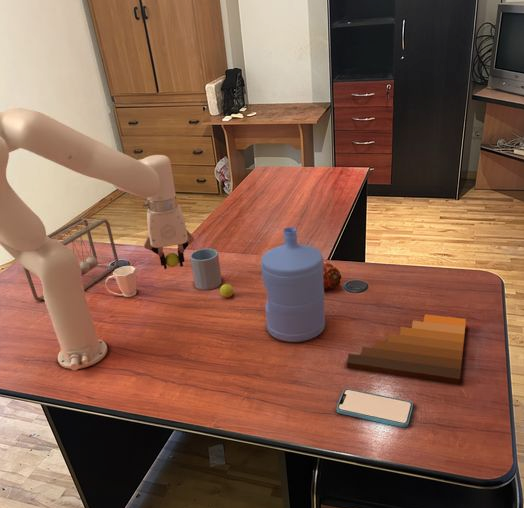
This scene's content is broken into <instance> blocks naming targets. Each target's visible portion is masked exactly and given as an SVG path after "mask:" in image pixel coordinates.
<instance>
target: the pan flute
mask: <svg viewBox="0 0 524 508" xmlns="http://www.w3.org/2000/svg"><path fill="white" fill-rule="evenodd" d="M466 323H467V318H461V317H453V316H443V315H436V314H435V315H434V314H424V317H423V321H421V320H412V325H411V327H407V326H400V329H399V334H398V333H391V332H389V333H387V340H382V339H381V340H380V339H375V341H374V346H373V347H369V346H361V351H360V354H355V353H348V356H347V360H346V365H347V369H350V370H351V369H352V370H358V371H359V370H360V371H366V372H372V373H373V372H374V373H379V374H385V375H391V376H392V375H393V376H399V377H408V378H413V379H420V380H425V381H426V380H427V381H434V382H441V383H446V384H454V385H460V382H461V381H460V380H461V375H462V364H463V363H462V362H463V353H464V344H465V333H466Z"/></svg>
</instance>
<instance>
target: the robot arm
mask: <svg viewBox="0 0 524 508" xmlns="http://www.w3.org/2000/svg"><path fill="white" fill-rule="evenodd" d="M19 149H22V150H26V151H28V152H30V153H33V154H35V155H37V156H39V157H41V158H43V159H46V160H48V161H50V162H53V163H55V164H57V165H60V166H62V167H63V168H66V169H68V170H71V171H73V172H75V173H77V174H80V175H83V176H86V177H89V178H93V179H96V180H100V181H103V182H106V183H108V184H111V185H113V187H115V188H116V189H117V190H119V191H120V192H123V193H127V194H129V195H130V194H131V195H133V196H136V197H140V198H143V199H144V198H146V200H145V201H143V202H141V203H142V207H143V208H147V209H146V221H147V222H146V223H147V231H148V236H147V238H146V240H145V241H144V244H143V248H144V249H145V250H149V251H151V252H153V253H154V254H156V255H157V256H158V257H159V262H160V266H161V267H163V268H164V270H167V269H168V265H167V264H166V260H165V258H166V255H165V253H164V248H167V247H173V246H177V255H178V257H179V266H180V267H184V263H185V255H184V254H185V251H186V249H187V248H188V247H189V245H191V244H192V243H193V242H195V237H194V236H193V234H191V232H190V231H189V230H188V229H187V225H186V221H185V216H184V213H183V210H182V207H181V206H180V205H179V204H178V201H177V194H176V189H175V188H176V187H175V182H174V181H175V180H174V175H173V169H172V163H171V159H170V157H169V156H167V155H164V154H152V155H148V156H146V157H144V158H140V159H136V158H134V157H132V156H130V155H128V154H126V153H123V152H121V151H120V150H117V149H114V148H113V147H110V146H108V145H107V144H105V143H103V142H102V141H99V140H96V139H94V138H92V137H91V136H88V135H86V134H84V133H82V132H80V131H78V130H76V129H75V128H72V127H71V126H68V125H67V124H64V123H63V122H60V121H59V120H57V119H55V118H54V117H51V116H49V115H47V114H44V113H43V112H40V111H37V110H33V109H27V108H21V107H14V108H10V109H6V110H3V111H0V246H1V247H2V248H3V249H4V250H5V251H6V252H7V253H8V254H9V255H10V256H11V257H12V258H14V259H15V260H16V261H17V263H19V264H20V265H21V266H22V268H23V267H25V268H26V269H27V270H29V273H31V274H33V275H35V276H36V277H37V278H39V280H40V282H41V287H42V296H44V303H45V306H46V309H47V312H48V314H49V318H50V321H51V323H52V326H53V330H54V332H55V336H56V339H57V342H58V345H59V347H60V351H59V352H58V354H57V362H58V364H59V366H61V367H63V368H65V369H70V370H71V371H77V370H78V369H85V368H88V367H91V366H93V365H95V364H97V363H99V362H100V361H101V360H103V359H104V358H105V356H107V353H108V346H107V343H106V342H105V341H104V340H102V339H99V337H98V333H97V329H96V326H95V323H94V319H93V316H92V312H91V309H90V306H89V302H88V299H87V296H86V292H85V291H86V290H84V288H83V287H84V283H83V279H82V276H81V268H80V263H81V262H80V260H79V257H78V256H77V254H76V253H75V251H73V249H71V248H70V247H68V246H67V245H66V246H65V245H63V244H61V243H60V241H58V240H56V239H54V238H53V239H54V240H53V239H51V238H52V237H51V238H49V237H48V236H47V235H48V234H47V231H46V226H45V224H44V222H43V220H41V218H40V217H39V215H37V213H35V212H34V211H33V210H32V209H31V207H29V206H28V204H26V203H25V201H24V200H23V199H22V198H21V197H20V196H19V195H18V194H17V192H16V191H15V190H14V188H13V187H12V186H11V184H10V183H9V181H8V178H7V167H8V163H9V159H10V153H12V152H15V151H17V150H19Z"/></svg>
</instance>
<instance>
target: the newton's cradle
mask: <svg viewBox="0 0 524 508" xmlns="http://www.w3.org/2000/svg"><path fill="white" fill-rule="evenodd" d="M88 221H90V222H93V223H91V224H89V223H88ZM81 223H84V228H83V229H81V230H79V228H78V227H80V224H81ZM102 224H105V226H106V230H107V234H108V239H109V242H110V247H111V251H112V254H113V258H114V264H113V265H108V264H101V263H98V256H97V253H96V249H95V244H94V242H93V238H92V233H91V231H92V230H95V229H96V228H98V227H99V226H101V225H102ZM74 227H76V230H74V229H72V228H74ZM71 229H72V231H74V232H75V233H74V234H71V233H70V230H71ZM67 231H68V234H66V236H67V238H65V239H63V238H62V235H63V233H65V232H67ZM46 235H47V236H48V237H49V238H51V239H53V240H55V238H56V237H60V239H59V243H61V244H63V245H65V246H67V245H69V244H71V243H72V244H73V246H72V251H73V252H75V249H76V252H77V254H78V256H79V257H78V258H79V259H80V261H81V262H79V263H80V268H81V277H82V276H83V274H86V273H88V272H89V271H90V270H91V268H95V267H96V266H101V267H108V269H106V270H105V271H104V272H102V273H100V275H97V277H95V278H94V279H92V280H91V281H89V282H88V283H86V284H85V285H83V288H84V291H86V290H87V289H88V288H90V287H92V286H93V285H94V284H96V283H97V282H99V280H101V279H103V278H104V277H106V276H107V275H108V274H110V273H111V272H113V271H114V270H115V269H117V268H118V266H119V258H118V253H117V249H116V245H115V241H114V237H113V236H114V235H113V233H112V228H111V225H110V222H109V220H108V219H105V218H103V219H92V218H91V219H90V218H86V217H84V216H80V217H78V218H76V219H74V220H73V221H70V223H68V224H65V225H64V226H62V227H60V228H58V229H57V230H55V231H52V232H51V233H49V234H46ZM84 235H87V239H88V242H89V244H88V245H89V252H88V249H87V247H86V244H85V242H84V241H83V236H84ZM78 239H80V240H81V241H80V244H81V247H83V246H84V248H85V250H86V252H87V255H88V257H86V260H85V261H84V257H82V258H81V255H80V252H79V251H78V249H77V247H76V244H75V242H74V241H76V240H78ZM74 246H75V247H74ZM83 251H84V250H83V249H81V253H82V255H84V252H83ZM89 253H90V254H91V255H90V254H89ZM22 268H23V271H24V273H25V276H26V279H27V282H28V285H29V288H30V291H31V293H32V296H33V299H34V300H35V301H37V302H41V301H43V300H44V296H43V295H41V296H40V297H39V296H38V293H37V290H36V288H35V285H34V281H33V279H32V276H31V272H30V271H29V270H27V269H26V268H25V267H23V266H22ZM44 301H45V300H44Z"/></svg>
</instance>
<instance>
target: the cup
mask: <svg viewBox="0 0 524 508" xmlns="http://www.w3.org/2000/svg"><path fill="white" fill-rule="evenodd" d="M110 279H114V280H115V282H116V284H117V286H118V288H119V290H120V292H121V293H117V292H114V291H112V290H110V289H109V288H108V285H107V284H108V281H109V280H110ZM105 289H106V290H107V292H108V293H110V294H112V295H115V296H118V297H125V298H131V297H134V296H136V294H137V293H138V292H137V291H138V290H137V268H136V267H134V266H132V265H122V266H119V267H116V268H115V269H114V270H113V271H112V275H110V276H108V277H106V279H105Z"/></svg>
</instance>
